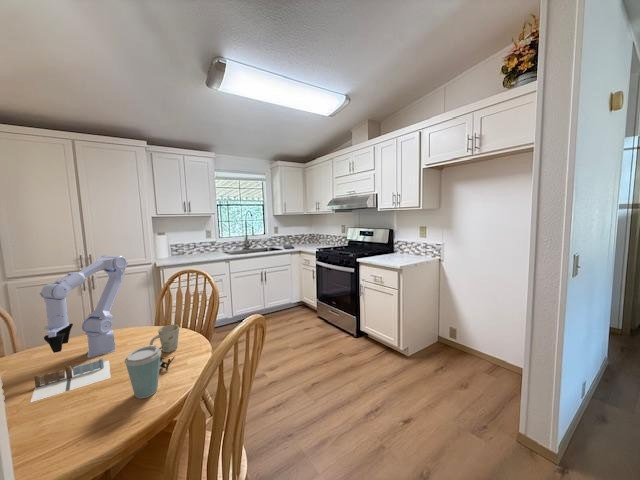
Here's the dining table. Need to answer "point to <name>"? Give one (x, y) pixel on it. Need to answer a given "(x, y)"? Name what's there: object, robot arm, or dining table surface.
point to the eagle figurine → (162, 364)
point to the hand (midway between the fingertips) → (61, 347)
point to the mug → (168, 338)
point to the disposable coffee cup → (144, 370)
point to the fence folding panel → (88, 367)
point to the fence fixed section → (53, 377)
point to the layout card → (71, 382)
